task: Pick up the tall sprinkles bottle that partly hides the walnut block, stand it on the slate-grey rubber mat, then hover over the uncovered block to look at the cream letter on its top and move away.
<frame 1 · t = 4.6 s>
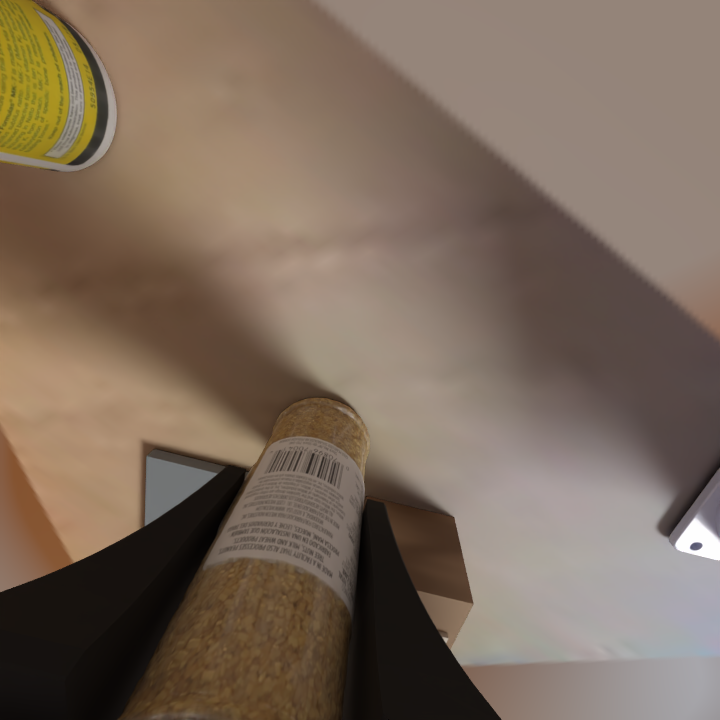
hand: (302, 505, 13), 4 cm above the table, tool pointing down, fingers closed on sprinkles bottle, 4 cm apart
sprinkles bottle: (324, 435, 17), on the table, touching gripper
grey mat: (225, 527, 19), on the table
supplement bottle: (60, 100, 13), on the table
walnut block: (398, 538, 19), on the table
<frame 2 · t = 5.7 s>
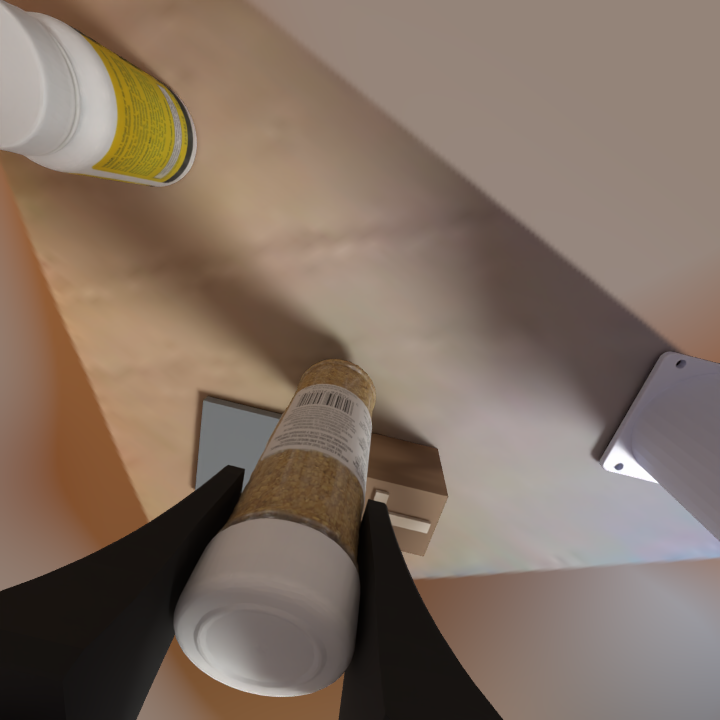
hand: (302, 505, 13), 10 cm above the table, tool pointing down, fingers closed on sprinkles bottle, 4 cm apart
sprinkles bottle: (338, 390, 21), point 1 cm above the table, touching gripper
grey mat: (259, 461, 25), on the table
supplement bottle: (155, 136, 19), on the table
walnut block: (394, 467, 24), on the table
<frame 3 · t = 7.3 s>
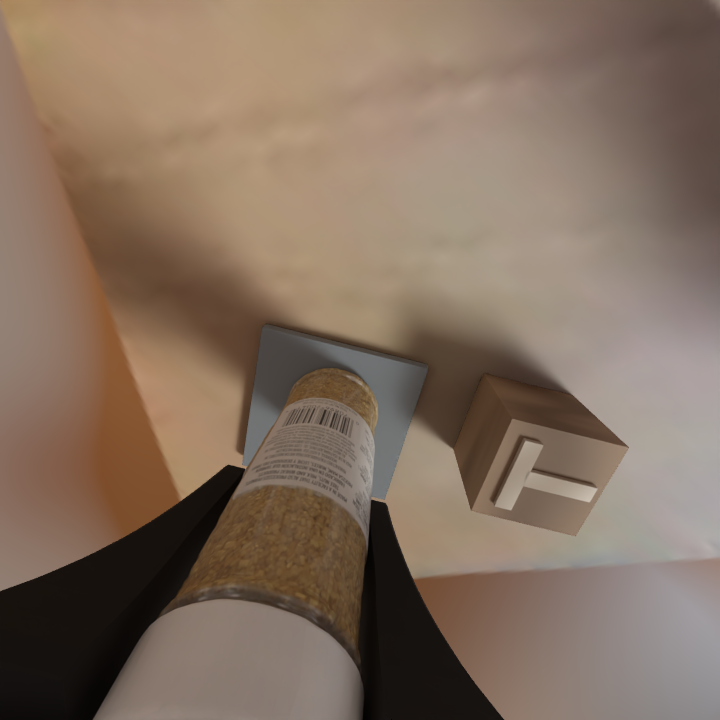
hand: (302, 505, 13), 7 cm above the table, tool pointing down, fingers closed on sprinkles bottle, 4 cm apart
sprinkles bottle: (335, 405, 18), resting on grey mat, touching gripper
grey mat: (330, 414, 19), on the table
walnut block: (510, 422, 18), on the table
when the fingers open (6 cm above the table, at t = 7.8 s): sprinkles bottle stays where it is, resting on grey mat.
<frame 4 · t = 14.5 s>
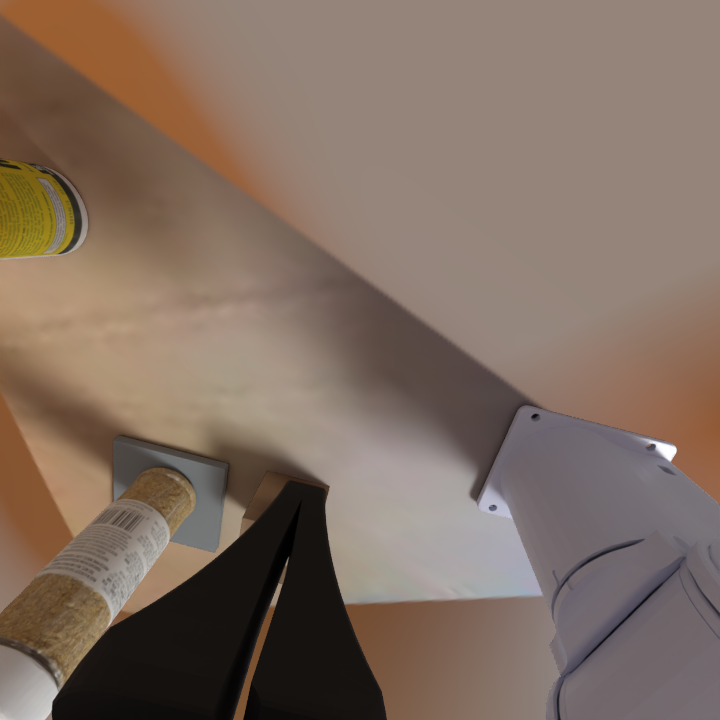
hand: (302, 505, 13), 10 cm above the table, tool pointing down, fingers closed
sprinkles bottle: (170, 489, 26), resting on grey mat
grey mat: (171, 493, 27), on the table
supplement bottle: (54, 212, 21), on the table
walnut block: (293, 502, 26), on the table
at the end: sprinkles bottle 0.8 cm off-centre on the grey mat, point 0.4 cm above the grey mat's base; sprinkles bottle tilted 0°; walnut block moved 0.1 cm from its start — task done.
